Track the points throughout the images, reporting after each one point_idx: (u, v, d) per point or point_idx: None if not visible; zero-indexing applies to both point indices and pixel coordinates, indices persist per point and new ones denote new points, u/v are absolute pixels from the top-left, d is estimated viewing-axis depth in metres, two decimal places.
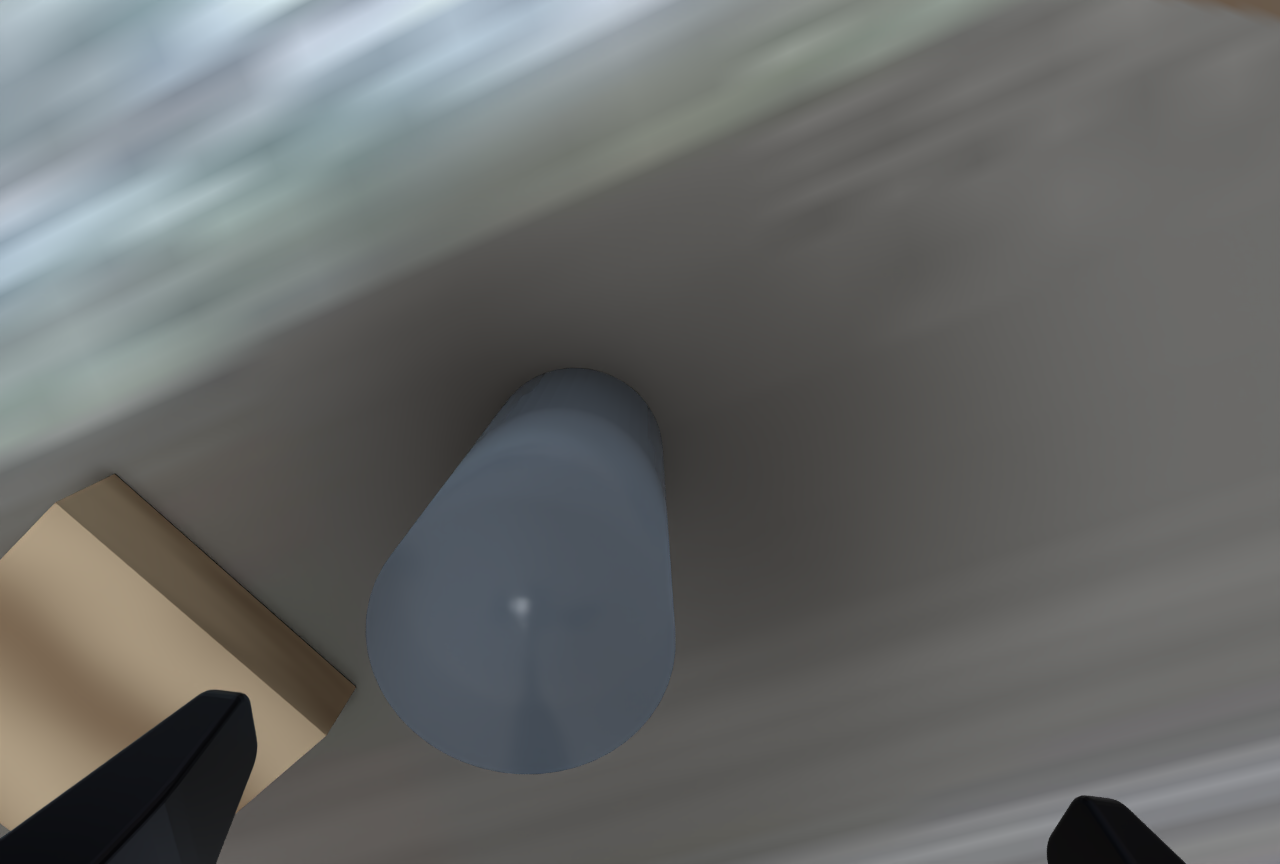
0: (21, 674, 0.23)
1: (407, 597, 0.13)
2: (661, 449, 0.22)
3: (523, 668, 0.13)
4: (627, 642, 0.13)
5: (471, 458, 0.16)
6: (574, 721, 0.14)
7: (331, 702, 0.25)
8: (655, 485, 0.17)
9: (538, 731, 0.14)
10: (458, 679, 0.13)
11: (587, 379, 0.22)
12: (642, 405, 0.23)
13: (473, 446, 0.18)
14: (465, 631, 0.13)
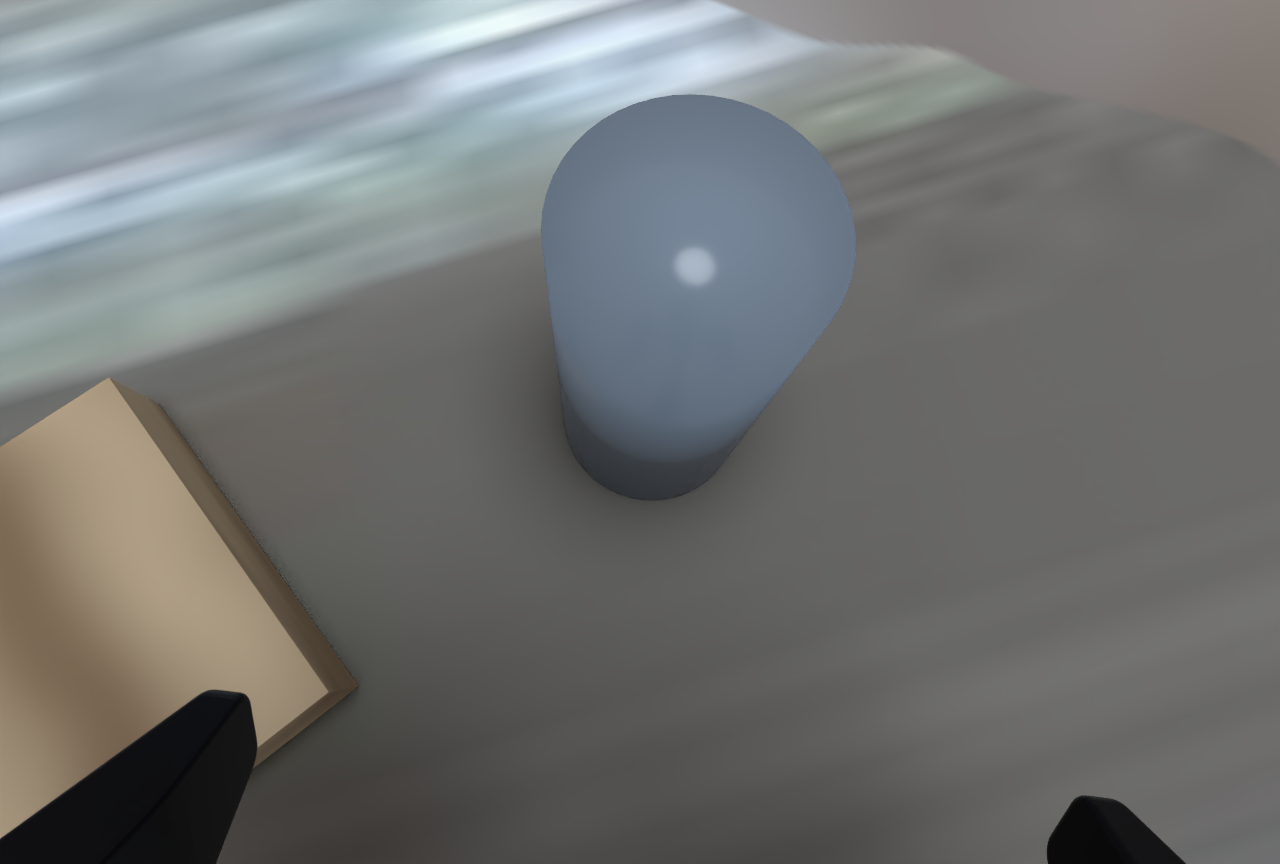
0: None
1: (591, 176, 0.13)
2: None
3: (701, 257, 0.13)
4: (807, 236, 0.13)
5: None
6: (750, 320, 0.13)
7: (334, 675, 0.20)
8: None
9: (712, 328, 0.12)
10: (630, 264, 0.13)
11: None
12: None
13: None
14: (646, 215, 0.13)
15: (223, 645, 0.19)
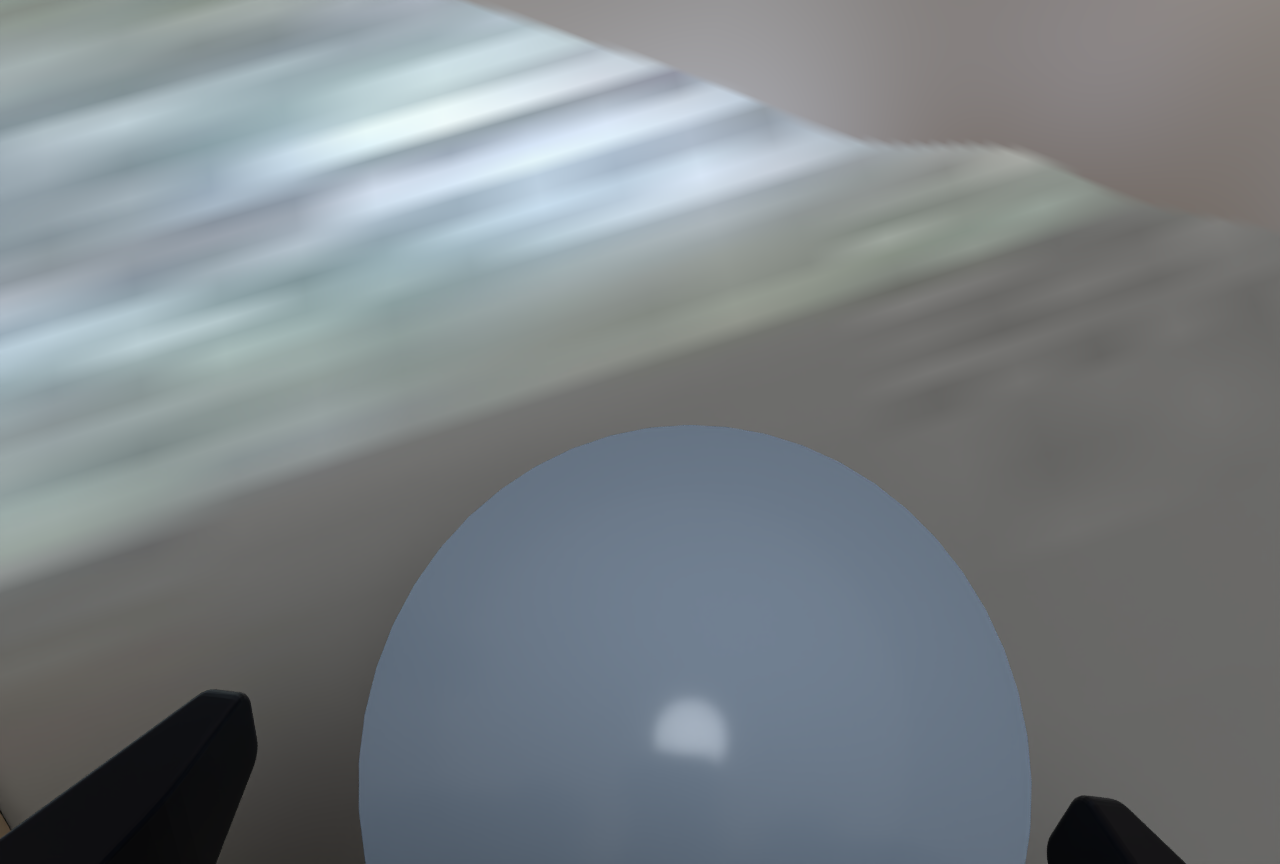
0: None
1: (474, 623, 0.06)
2: None
3: (704, 816, 0.06)
4: (928, 757, 0.06)
5: None
6: None
7: None
8: None
9: None
10: (551, 844, 0.06)
11: None
12: None
13: None
14: (587, 714, 0.06)
15: None
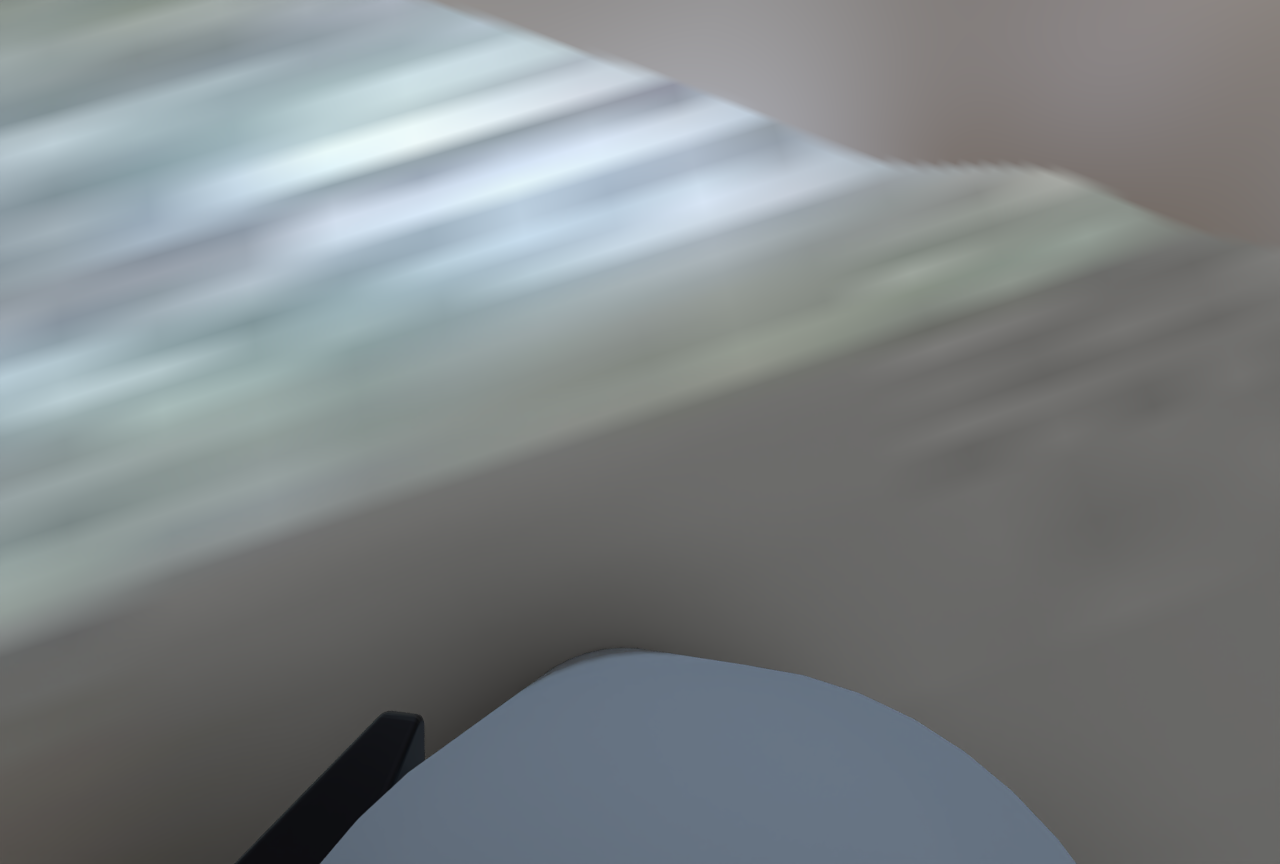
0: None
1: None
2: None
3: None
4: None
5: (518, 693, 0.08)
6: None
7: None
8: None
9: None
10: None
11: None
12: None
13: None
14: None
15: None
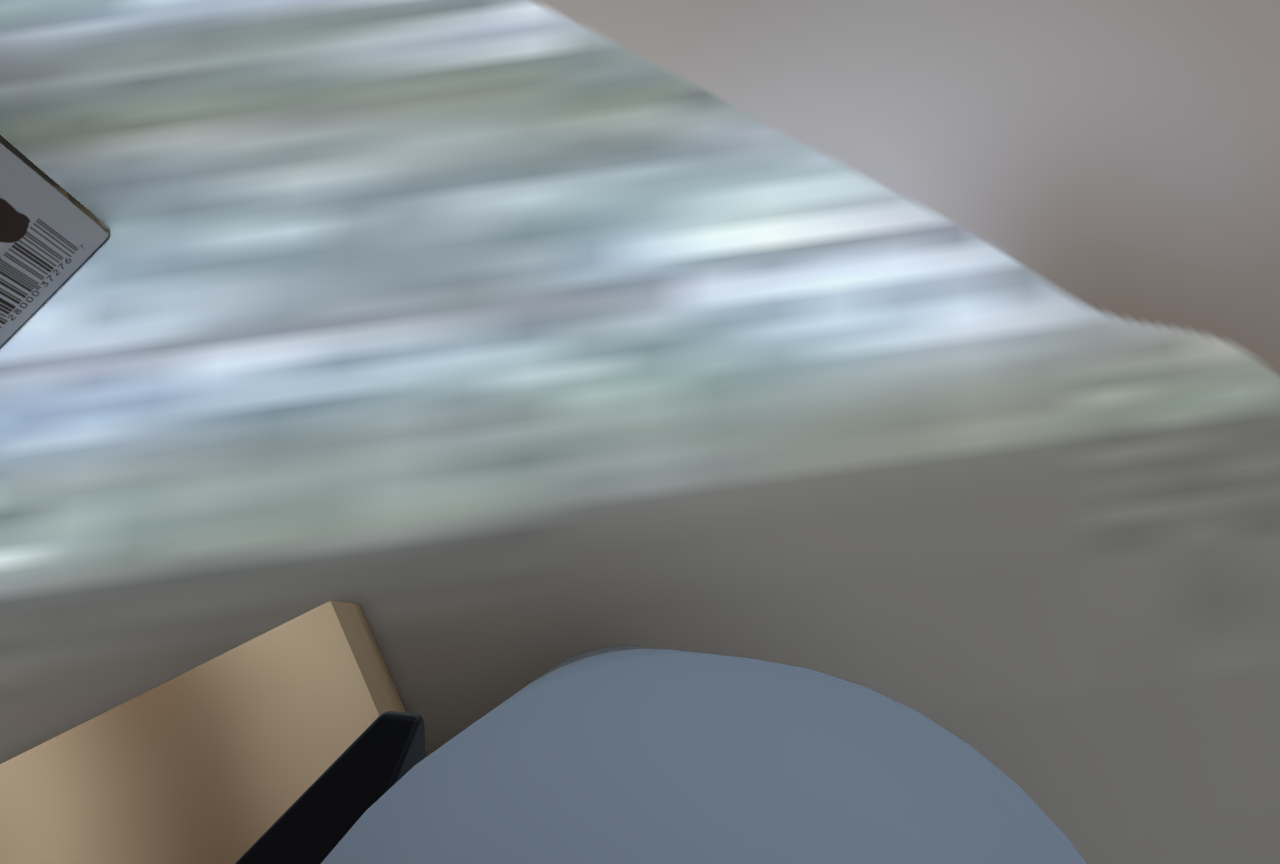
0: (158, 811, 0.18)
1: None
2: None
3: None
4: None
5: (522, 689, 0.08)
6: None
7: None
8: None
9: None
10: None
11: None
12: None
13: None
14: None
15: None
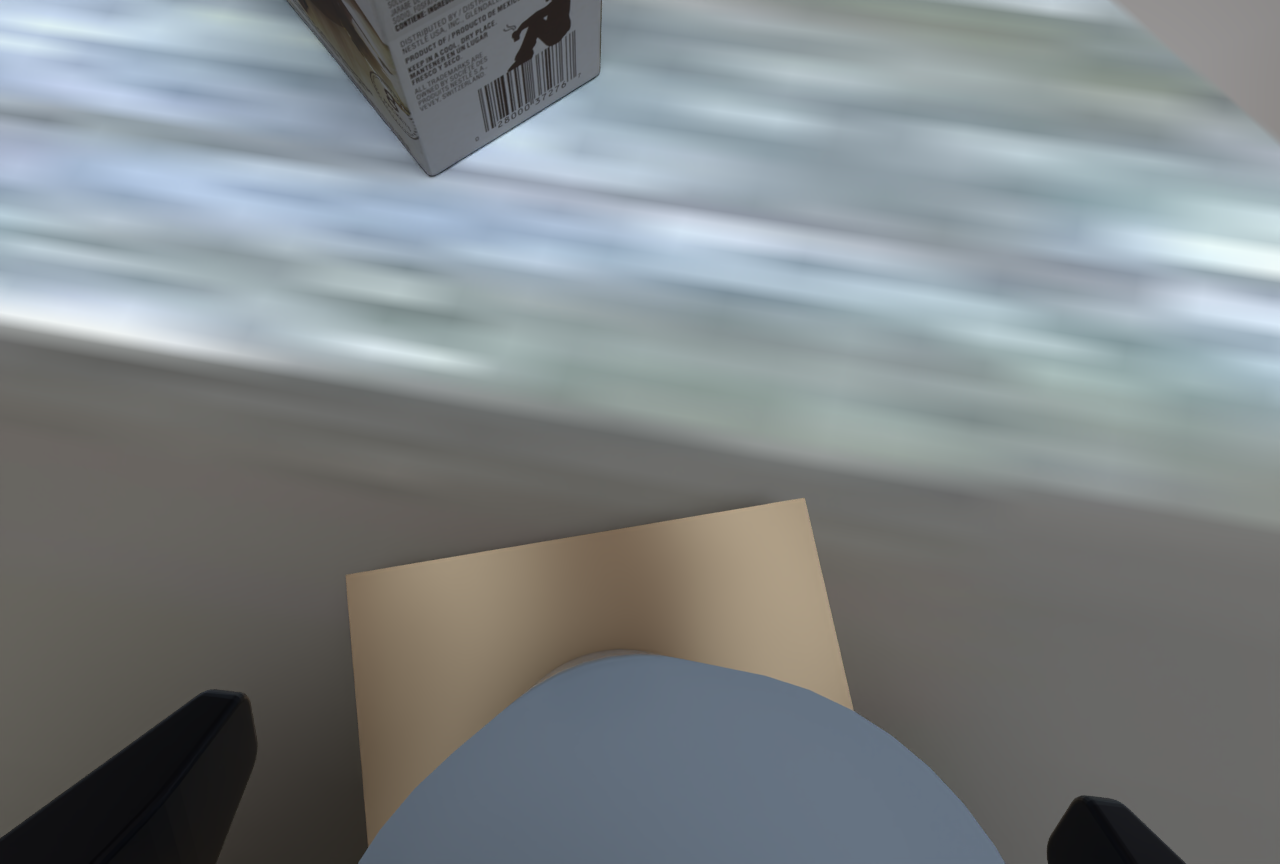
0: None
1: None
2: None
3: None
4: None
5: (530, 691, 0.09)
6: None
7: None
8: None
9: None
10: None
11: None
12: None
13: None
14: None
15: None
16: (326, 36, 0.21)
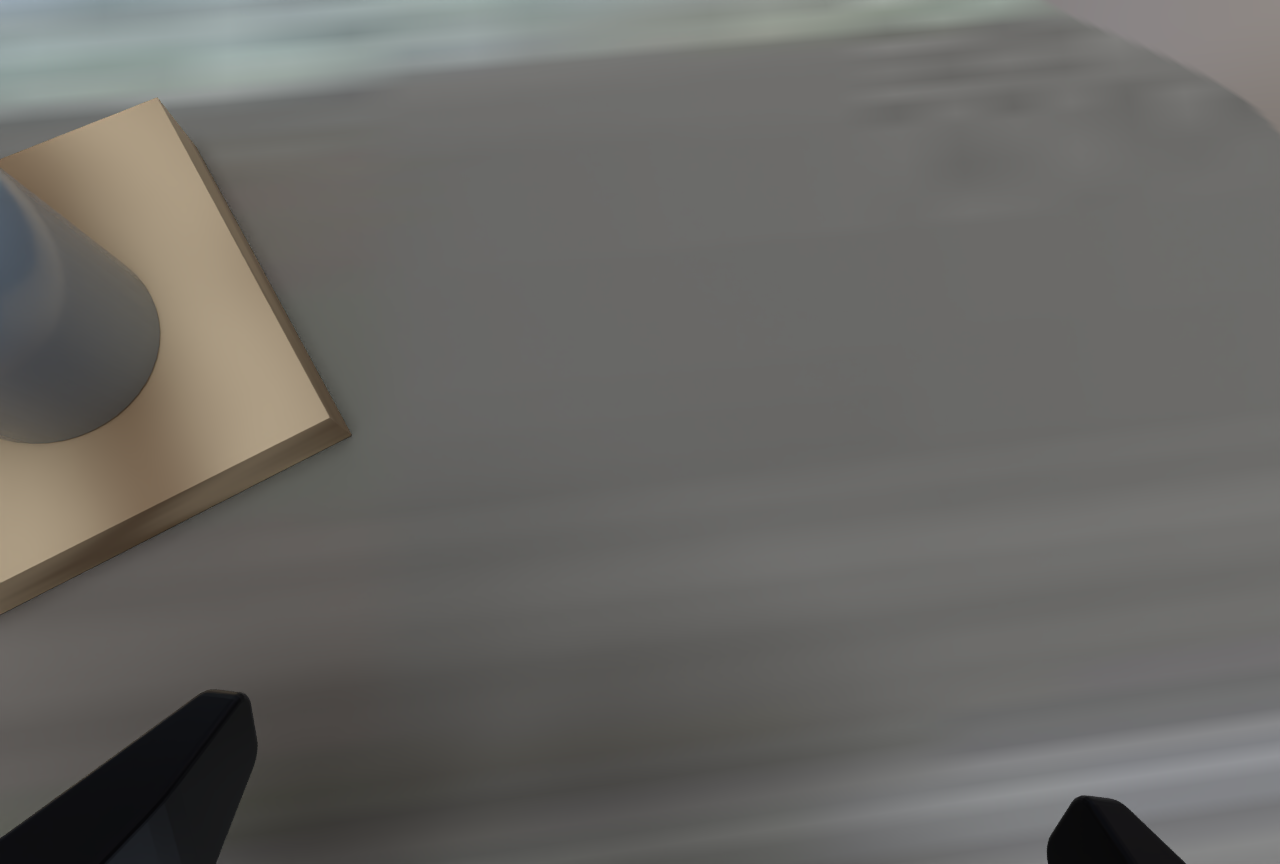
0: None
1: None
2: (115, 267, 0.18)
3: None
4: None
5: None
6: None
7: (333, 413, 0.21)
8: None
9: None
10: None
11: None
12: None
13: None
14: None
15: (237, 359, 0.20)
16: None
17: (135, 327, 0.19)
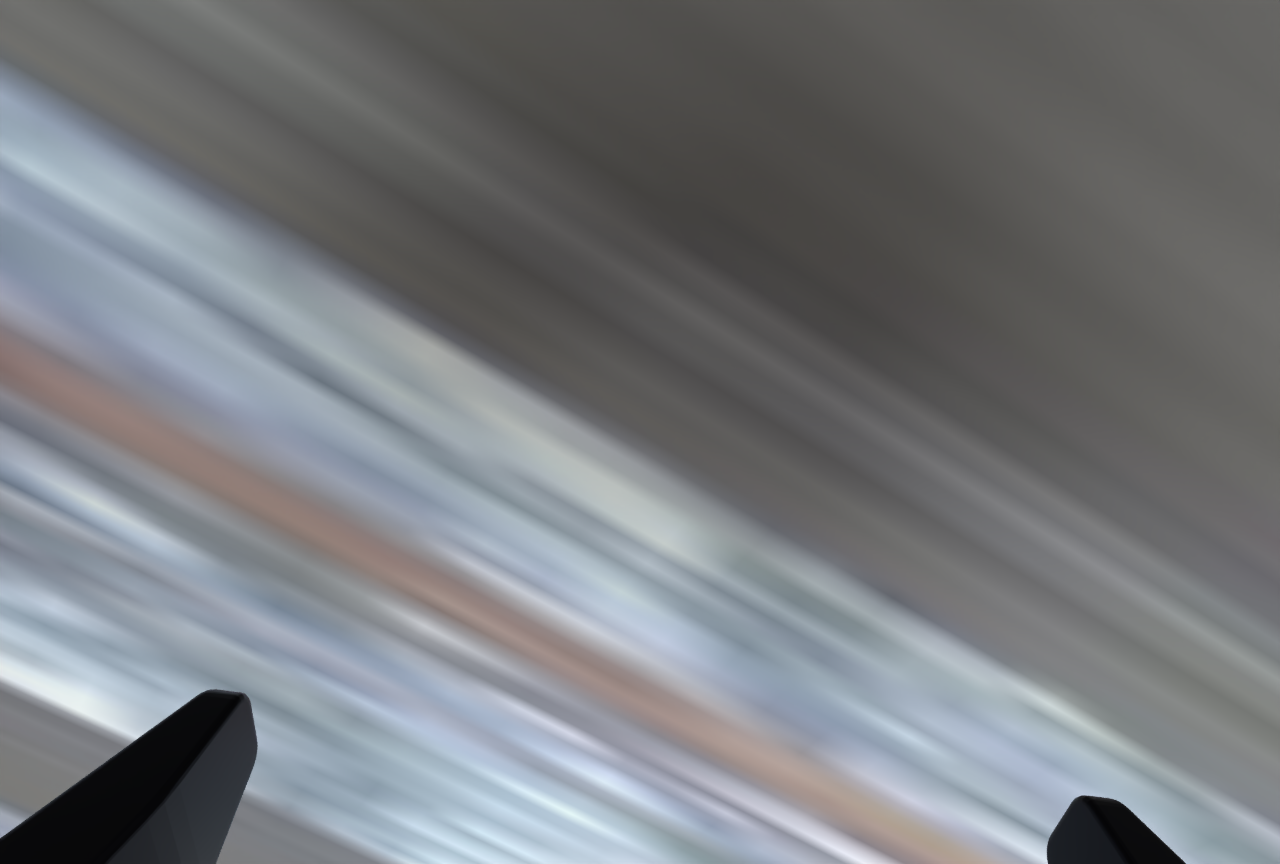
0: None
1: None
2: None
3: None
4: None
5: None
6: None
7: None
8: None
9: None
10: None
11: None
12: None
13: None
14: None
15: None
16: None
17: None
